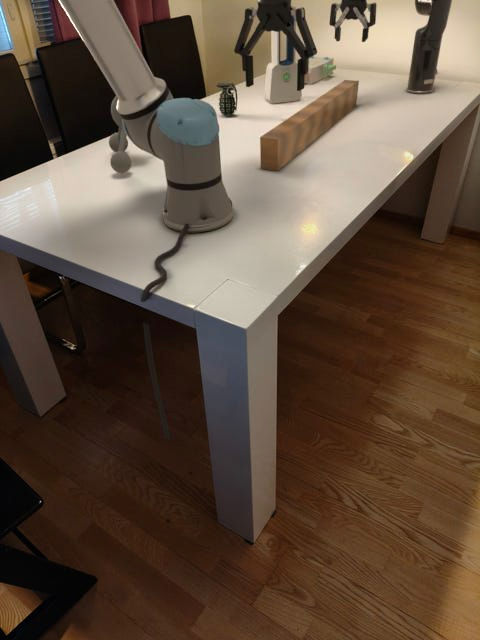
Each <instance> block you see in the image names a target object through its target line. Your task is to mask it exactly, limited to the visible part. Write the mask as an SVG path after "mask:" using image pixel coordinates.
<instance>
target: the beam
mask: <svg viewBox="0 0 480 640" xmlns="http://www.w3.org/2000/svg"><path fill="white" fill-rule="evenodd" d="M359 83H360V81H359V80H353V79H344V80H342V81H341V82H339V83H338V84H337V85H335V86H333V87H332V88H330V89H329V90H328V91H327V92H325V93H323V94H322V95H320V96H319V97H317V98H316V99H315V100H313V101H312V102H310V103H309V104H307V105H306V106H304V107H302V108H301V109H300V110H298V111H296V112H295V113H294V114H293V115H290V116H289V117H288V118H286V119H285V120H283V121H282V122H280V123H279V124H277V125H276V126H274V127H273V128H271V129H270V130H268V131H267V132H266V133H264V134H263V135H261V136H260V137H259V145H260V147H259V149H260V150H259V151H260V153H259V154H260V169H262V170H269V171H275V172H278V171H280V170H281V169H282V168H283V167H285V166H287V164H288V163H289V162H291V161H292V160H293V159H294V158H296V157H297V156H298V155H299V154H301V152H303V151H304V150H305V149H306V148H308V147H309V146H310V145H311V144H313V142H315V141H316V140H317V139H318V138H319V137H321V136H322V135H323V134H324V133H326V132H327V131H328V130H329V129H331V128H332V127H333V126H334V125H335V124H337V123H338V122H340V120H342V119H343V118H344V117H345V116H346V115H347V114H348V113H350V112H351V111H352V110H354V109H355V108H356V107H357V105H358V96H359V95H358V94H359V85H360V84H359Z"/></svg>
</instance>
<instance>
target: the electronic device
mask: <svg viewBox="0 0 480 640" xmlns="http://www.w3.org/2000/svg"><path fill="white" fill-rule="evenodd" d="M291 8H292V10H294V9H297V7H296V6H294V5H291ZM290 22H291V24H292V26H293V27H294V30H295V32H296V33H297V22H296V20H295V19H294V17H293V16H292V17H291V19H290ZM285 37H286V39H285V40H286V42H285V45H286V46H285V59H283V60H281V31H280V32H275V31H270V39H271V40H270V42H271V44H270V45H271V46H270V47H271V49H270V50H271V55H270V56H271V61H270V62H269V63H268V64H267V65H266V69H265V70H266V71H265V80H264V89H263V92H264V94H263V95H264V98H266V99H267V101H269V102H270V103H271V104H281V103H289V102H297V101H300V99H301V98H302V97H303V94H302V90H301V91H297V66H298V64H297V63H296V62H295V61H296V53H297V51H296V50H295V48H294V47H293V45H292V44H291V42H290V41H289V39H288V37H287V36H286V35H285Z"/></svg>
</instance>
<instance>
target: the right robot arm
mask: <svg viewBox="0 0 480 640" xmlns="http://www.w3.org/2000/svg"><path fill="white" fill-rule="evenodd" d="M452 2H453V0H414V7H415V11H416V13H417V14H418V15H420V16H424V17H428V19H427V23H426V24H425V25H424V26H421V27H419V28H417V29H416V31H415V33H414V34H415V35H414V39H413V40H414V41H413V47H412V52H411V53H412V54H411V60H410V68H409V73H408V80H407V87H406V91H407V92H408V93H411V94H429V93H432V92H434V84H435V80H436V74H437V73H438V69H437V68H438V64H439V63H438V62H439V57H440V52H441V46H442V41H443V35H444V32H445V30H446V28H447V24H448V20H449V17H450V13H451V12H450V11H451V8H452ZM339 10H340V11H341V14H340V16H339V17H338V19H337V12H338V11H339ZM366 10H368V12H369V20H368V18H367V16H366V14H365V12H366ZM329 13H330V14H329V26H331V27H334V40H335V41H336V42H340V41H341V36H342V35H341V34H342V27H341V26H342V24H343V23H344V21H346V20H347V21H349V20H354V21H356V20H358V21H359V22H360V23H361V25H362V27H363V28H362V33H361V43H366V41H367V40H368V38H369V30H370V28H371V27H373V26H375V25H376V21H377V3H376V2H371V3H368V2H367V0H341V1H340V3H337V2H334V3H332V4H331V5H330V12H329Z"/></svg>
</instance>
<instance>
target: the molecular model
mask: <svg viewBox="0 0 480 640" xmlns="http://www.w3.org/2000/svg"><path fill="white" fill-rule="evenodd" d="M117 102H118V97H117V95H116V94H115V96H114V98H113V99H112V101H111V105H110V115H111V117H112V120H113V121H114V122H115V124H116V125H117V126H118V132H114V133H112V134H110V136H109V139H108V146H109V148H110V150H112V151H113V152H114V153H112V155H111V157H110V159H109V162H110V167H111V168H112V170H113V171H115V172H116V173H118V174H126V173H127V172H129V170H131V168H132V163H133V162H132V158H131V156H130V155H129V154H128V153H127V152H125V151H126V150H127V149H128V146H129V141H128V136H127V135H126V133H125V130H124V128H123V123H122V117H121V116H120V114H119V113H118V111H117V108H116V107H117Z"/></svg>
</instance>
